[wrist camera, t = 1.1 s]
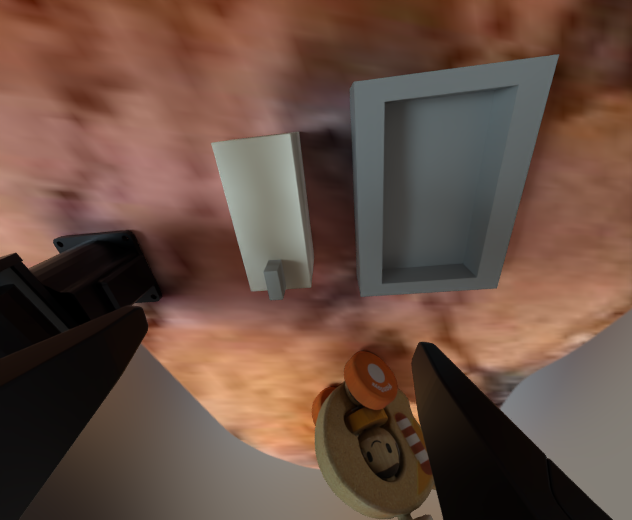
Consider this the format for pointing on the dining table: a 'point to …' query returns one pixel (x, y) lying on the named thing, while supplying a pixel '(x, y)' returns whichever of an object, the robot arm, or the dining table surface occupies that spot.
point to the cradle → (442, 173)
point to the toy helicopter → (372, 442)
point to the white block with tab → (269, 210)
